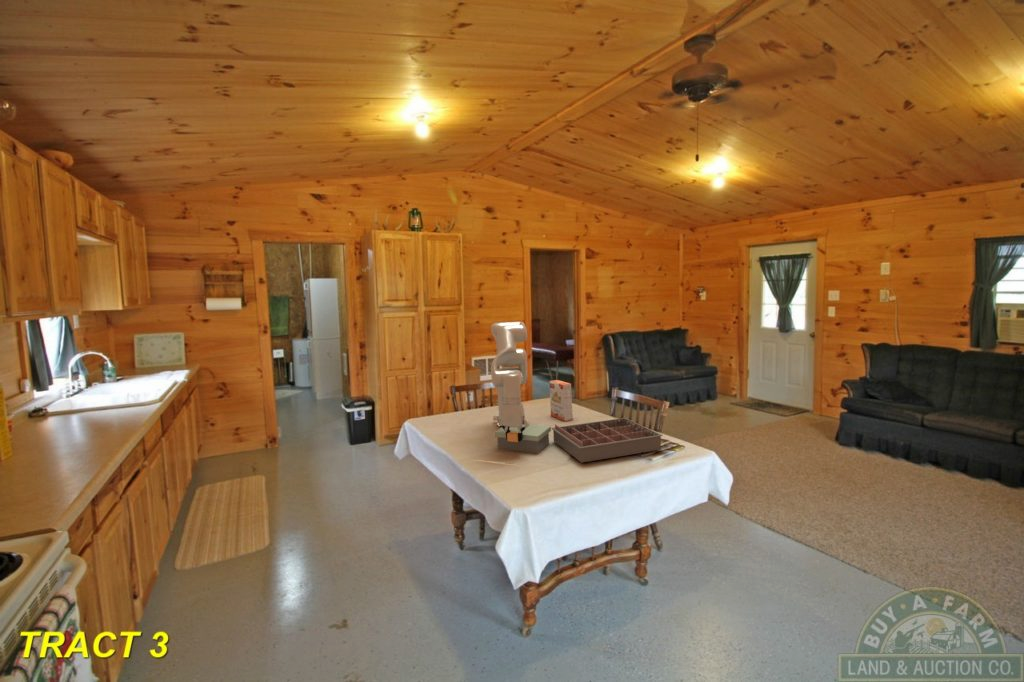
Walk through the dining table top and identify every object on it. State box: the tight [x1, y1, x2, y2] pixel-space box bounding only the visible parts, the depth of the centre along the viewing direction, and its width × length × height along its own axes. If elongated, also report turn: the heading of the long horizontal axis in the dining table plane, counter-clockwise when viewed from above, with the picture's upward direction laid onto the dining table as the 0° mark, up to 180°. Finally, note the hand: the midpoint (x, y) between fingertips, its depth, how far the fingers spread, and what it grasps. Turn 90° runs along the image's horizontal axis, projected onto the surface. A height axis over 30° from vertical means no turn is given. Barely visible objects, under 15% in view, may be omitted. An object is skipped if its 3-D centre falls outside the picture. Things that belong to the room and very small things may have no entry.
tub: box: [497, 432, 550, 454], centre depth 233 cm, size 20×14×8 cm
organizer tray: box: [551, 417, 663, 463], centre depth 228 cm, size 32×40×10 cm
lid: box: [494, 423, 552, 442], centre depth 231 cm, size 22×20×4 cm
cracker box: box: [549, 379, 574, 422], centre depth 280 cm, size 14×6×21 cm, turn 28°
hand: (514, 439), depth 224 cm, fingers closed on lid, 4 cm apart
